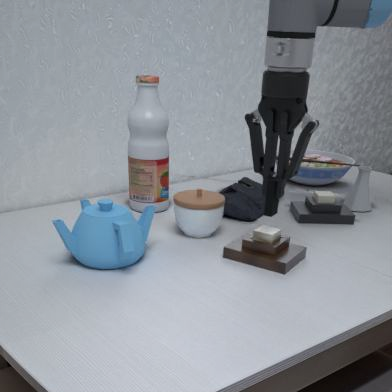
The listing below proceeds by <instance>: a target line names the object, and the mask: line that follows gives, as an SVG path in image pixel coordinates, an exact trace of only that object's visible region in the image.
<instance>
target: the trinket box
mask: <svg viewBox="0 0 392 392" xmlns="http://www.w3.org/2000/svg"><path fill="white" fill-rule="evenodd" d="M172 200H173V213H174V219H175V221H176V224H177V227H179V229H180V230H181V231H183V234H184V235H185V236H187V237H189V238H197V239H204V238H208V237H210V236H212V235H213V233H214V232H216V230H217V229H218V228H219V227H220V225H221V223H222V220H223V217H224V214H223V213H224V204H225V197H224V196H223V195H222V194H219V192H216V191H213V190H207V189H203V188H202V187H197V188H196V189H186V190H181V191H178V192H176V193H174V195H173V199H172Z"/></svg>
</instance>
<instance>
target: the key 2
mask: <svg viewBox="0 0 392 392" xmlns="http://www.w3.org/2000/svg"><path fill="white" fill-rule="evenodd" d="M312 196H313V200H314V201H315V202H316V203H331V204H334V201H335V198H336V194H334V193H333V192H332V191H329V190H314V191H313V195H312Z"/></svg>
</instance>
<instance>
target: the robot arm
mask: <svg viewBox="0 0 392 392" xmlns="http://www.w3.org/2000/svg"><path fill="white" fill-rule="evenodd" d="M268 1H269V2H268V16H267V17H268V18H267V30H266V37H265V47H264V60H263V65H264V66H265V67H266V68H267V69H265V70H264V71H263V72H262V81H261V91H260V93H261V95H260V96H261V98H260V100H259V103H258V105H257V108H256V109H255V110H253V111H251V112H249V113H246V114H245V115H244V121H245V123H246V125H247V128H248V134H249V140H250V141H249V142H250V149H251V158H252V159H251V160H252V167H253V172H254V173H256V174H259V175H261V176H262V195H263V196H266V199H265V209H264V215H263V216H264V217H269V218H272V217H274V216H276V215H277V214H278V211H279V210H278V209H279V202H280V199H282V198H283V197H284V195H285V191H286V183H287V180H290V178H292V177H294V176H296V175H297V173H298V171H299V168H300V165H301V163H302V160H303V157H304V154H305V152H306V149H308V146H309V144H310V141H311V138H312V136H313V134H314V133H315V132H316V130H317V129H318V127H320V120H319V119H314V118H313V117H312V116H311V115H310V114H309V113H308V112H309V109H308V108H309V107H308V105H307V99H308V95H309V94H308V93H309V86H310V78H311V74H310V72H309V71H308V69H310V68H311V67H312V63H313V57H314V49H315V48H314V47H315V41H316V40H315V39H316V34H317V28H318V27H331V28H351V29H352V28H354V29H355V28H356V29H361V30H366V29H376V28H379V27H382V25H384V24H385V23H386V22H387V21H388V19H389V18H390V16H391V14H392V0H268ZM261 122H263V124H264V126H265V145H264V139H263V128H262V124H261ZM301 122H302V123H301ZM300 124H301V128H300V129H301V132H300V133H299V136H298V138H297V141H296V144H295V146H294V149H295V150H294V152H293V155H292V158H291V161H290V164H289V160H290V152H291V149H292V143H293V138H294V135H295V130H296V129H297V127H298V126H299V125H300ZM278 143H279V145H278ZM277 151H279V153H278V162H277V164H276V154H277Z"/></svg>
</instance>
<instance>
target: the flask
mask: <svg viewBox="0 0 392 392" xmlns="http://www.w3.org/2000/svg"><path fill="white" fill-rule="evenodd" d="M357 167H358V169H357V170H358V172H357V173H358V174H357V177H356V179H355V181H354V184H353V186H352V187H351V189H350V191H349V192H348V194H347V195H346V197H345V199H344V201H342V202H343V203H344V204H345V205H346V206H347V207H348V208H349V209H350V210H351V211H352V212H360V213H361V212H363V213H365V212H371V211H372V209H373V207H372V202H371V193H370V175H371V172H372V171H373V168H372V167H371V166H366V165H362V166H361V165H360V166H357Z"/></svg>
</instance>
